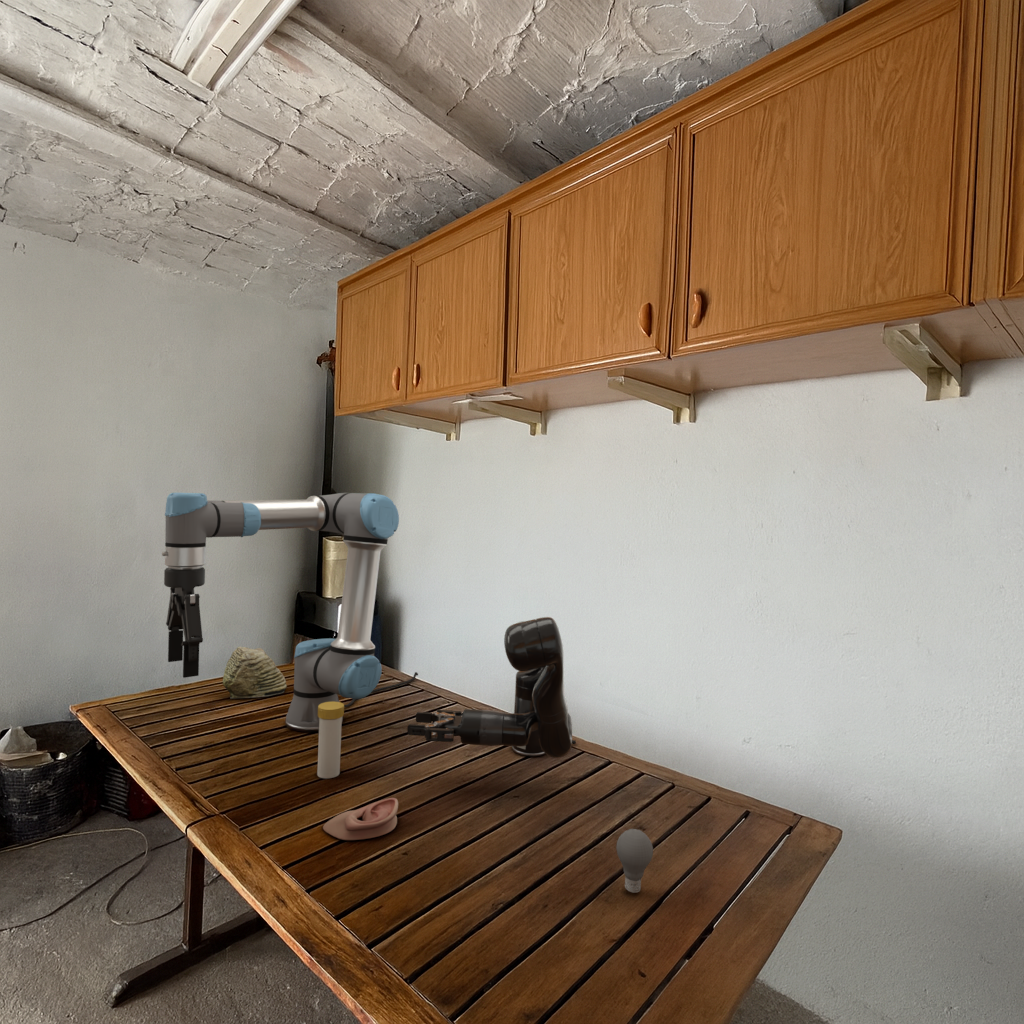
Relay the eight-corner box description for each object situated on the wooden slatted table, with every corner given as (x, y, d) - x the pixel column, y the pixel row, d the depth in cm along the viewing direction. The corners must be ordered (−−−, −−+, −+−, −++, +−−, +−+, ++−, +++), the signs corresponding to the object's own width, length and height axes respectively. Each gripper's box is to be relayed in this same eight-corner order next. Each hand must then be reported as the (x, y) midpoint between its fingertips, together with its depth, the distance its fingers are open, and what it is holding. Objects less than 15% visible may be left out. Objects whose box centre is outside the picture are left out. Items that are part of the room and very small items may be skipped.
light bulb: (610, 879, 108) (613, 822, 108) (644, 879, 109) (647, 822, 109) (619, 902, 102) (622, 840, 102) (655, 901, 103) (658, 840, 103)
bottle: (312, 775, 144) (315, 708, 144) (328, 767, 148) (330, 702, 148) (328, 780, 142) (331, 712, 141) (344, 772, 146) (346, 706, 146)
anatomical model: (315, 814, 118) (343, 787, 129) (314, 835, 118) (343, 807, 129) (382, 825, 115) (405, 796, 127) (381, 846, 116) (404, 816, 127)
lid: (312, 716, 143) (312, 706, 143) (330, 709, 149) (330, 699, 148) (331, 721, 141) (331, 711, 141) (349, 714, 146) (349, 704, 146)
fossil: (218, 695, 195) (220, 647, 195) (278, 685, 208) (279, 640, 207) (228, 703, 189) (230, 653, 188) (289, 692, 201) (290, 645, 201)
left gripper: (152, 561, 139) (150, 657, 139) (179, 575, 119) (176, 686, 120) (190, 560, 143) (187, 653, 144) (221, 573, 124) (218, 680, 125)
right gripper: (486, 701, 150) (419, 697, 150) (480, 721, 135) (405, 716, 136) (485, 733, 150) (417, 729, 150) (479, 756, 135) (404, 751, 136)
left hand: (182, 668), depth 132 cm, fingers open, 13 cm apart
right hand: (412, 723), depth 143 cm, fingers open, 8 cm apart
